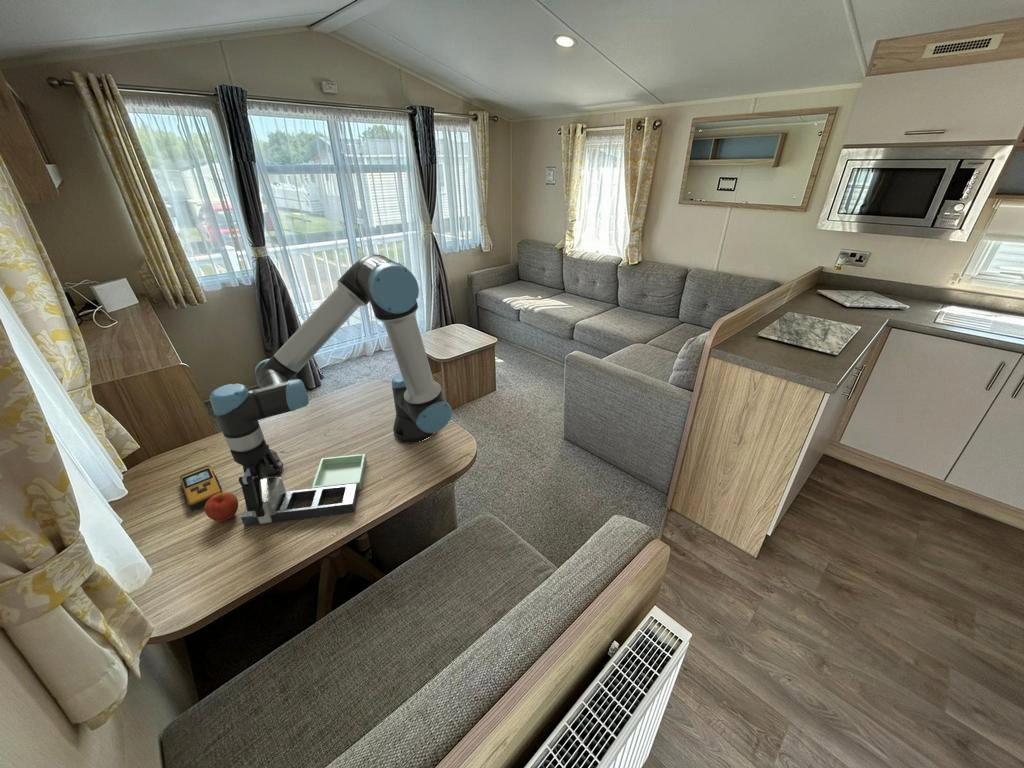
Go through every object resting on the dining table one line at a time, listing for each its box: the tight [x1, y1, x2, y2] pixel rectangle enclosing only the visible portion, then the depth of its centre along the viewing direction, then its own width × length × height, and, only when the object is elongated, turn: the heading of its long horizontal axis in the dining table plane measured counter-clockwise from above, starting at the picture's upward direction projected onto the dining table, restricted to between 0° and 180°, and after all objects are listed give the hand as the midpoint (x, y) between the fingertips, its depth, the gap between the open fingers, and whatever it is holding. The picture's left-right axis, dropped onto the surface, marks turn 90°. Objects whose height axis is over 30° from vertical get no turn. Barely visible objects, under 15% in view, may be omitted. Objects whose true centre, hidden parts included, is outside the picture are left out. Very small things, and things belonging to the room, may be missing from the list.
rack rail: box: [240, 483, 360, 528], centre depth 111 cm, size 28×8×4 cm, turn 101°
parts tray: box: [311, 453, 367, 491], centre depth 123 cm, size 13×13×3 cm
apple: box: [203, 491, 239, 522], centre depth 107 cm, size 7×7×8 cm
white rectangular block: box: [251, 476, 286, 517], centre depth 109 cm, size 5×9×8 cm, turn 11°
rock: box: [262, 448, 284, 479], centre depth 125 cm, size 8×11×5 cm
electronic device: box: [179, 465, 223, 512], centre depth 117 cm, size 8×16×3 cm, turn 44°
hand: (272, 507), depth 110 cm, fingers closed on white rectangular block, 9 cm apart
